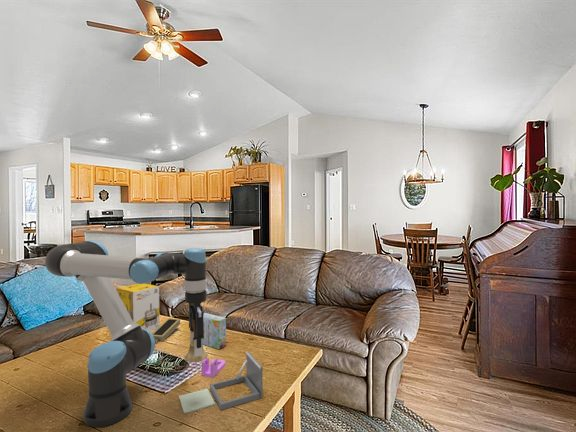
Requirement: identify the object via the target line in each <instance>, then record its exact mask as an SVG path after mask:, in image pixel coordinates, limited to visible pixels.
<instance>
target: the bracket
mask: <svg viewBox="0 0 576 432" xmlns="http://www.w3.org/2000/svg"><path fill="white" fill-rule="evenodd" d="M225 366H226V360H224V359H216V358H212V359H211V361H210V359H209V358H208V357H207V358H206V359H204V360H202V361H201V376H203V377H208V378H215V376H216V375H218V373H219V372H220V371H222V369H223V368H224V367H225Z"/></svg>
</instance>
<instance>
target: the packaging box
mask: <svg viewBox="0 0 576 432" xmlns="http://www.w3.org/2000/svg"><path fill="white" fill-rule="evenodd" d="M116 291H117V292H118V294H119V296H120V298H121V300H122V302H123V304H124V305H125V307H126V309H127V311H128V313H129V315H130V317H131V319H132V320H133V322H134V323H135V324H139V325H140V326H141V328H142V329H145V330H147V331H150V332H154V331H155V330H156V329H157V328H158V327H159V326H160V286H159V285H154V284H150V283H144V284H138V283H134V284H130V285H126V286H121V287H118V288H117V287H116Z"/></svg>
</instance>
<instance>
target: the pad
mask: <svg viewBox="0 0 576 432" xmlns="http://www.w3.org/2000/svg"><path fill="white" fill-rule="evenodd" d="M209 390H210V389H209V388H204V389H200V390H196V391H193V392H192V391H191V392H190V393H186V394H181V395H178V399H179V403H180V406H181V409H182V412H183V414H184V415H185V414H188V413H193V412H196V411H200V410H202V409H206V408H209V407H213V406H216V403H215V401H214V400H215V399H213V398H214V397H213V395H212V393H211V391H209Z"/></svg>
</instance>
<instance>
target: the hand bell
mask: <svg viewBox="0 0 576 432" xmlns="http://www.w3.org/2000/svg"><path fill="white" fill-rule="evenodd" d="M192 328H193V331H194V338H195V330H194V320H193V319H192ZM208 356H209V354H208V352H207V351H205V349H204V345H203V344H202V356H197V357H195V356H194V341H192V342H191V343H190V342H189V348H188V352H187V353H186V355H185V356H184V361H186V362H188V363H198V362H202V360H204V359H206V358H208Z"/></svg>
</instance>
